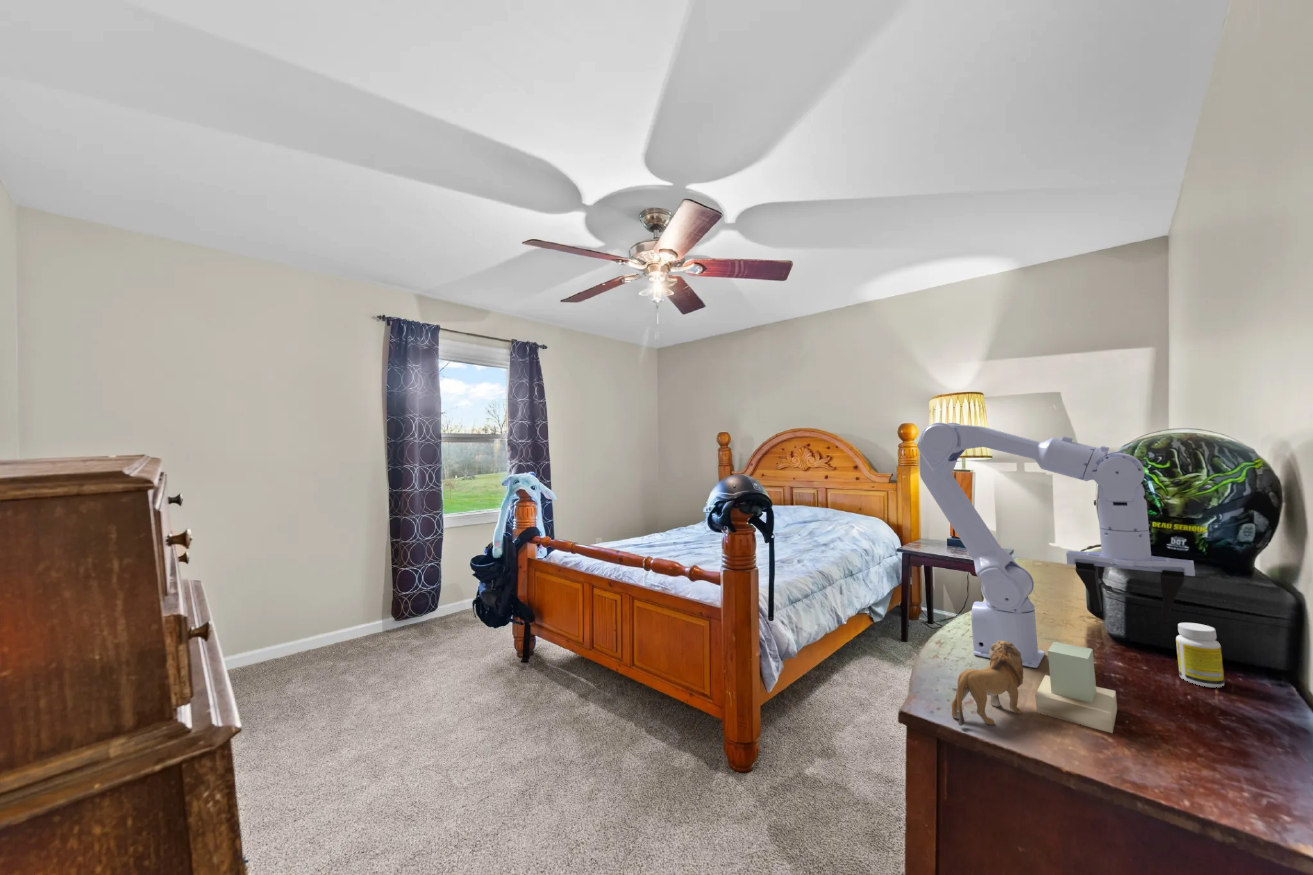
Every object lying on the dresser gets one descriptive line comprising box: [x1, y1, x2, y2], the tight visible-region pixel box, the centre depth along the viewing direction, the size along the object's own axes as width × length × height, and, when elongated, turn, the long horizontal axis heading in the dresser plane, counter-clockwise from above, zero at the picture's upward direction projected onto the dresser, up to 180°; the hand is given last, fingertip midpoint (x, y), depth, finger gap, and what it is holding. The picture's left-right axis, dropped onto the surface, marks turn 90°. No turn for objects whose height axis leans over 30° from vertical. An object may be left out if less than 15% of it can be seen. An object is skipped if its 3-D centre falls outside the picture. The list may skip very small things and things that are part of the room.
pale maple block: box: [1034, 674, 1118, 734], centre depth 70 cm, size 8×8×3 cm
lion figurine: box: [951, 641, 1024, 726], centre depth 71 cm, size 15×5×9 cm, turn 120°
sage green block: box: [1047, 641, 1097, 703], centre depth 71 cm, size 4×4×6 cm
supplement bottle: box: [1175, 622, 1225, 689], centre depth 77 cm, size 5×5×8 cm
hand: (1131, 615), depth 78 cm, fingers open, 7 cm apart
